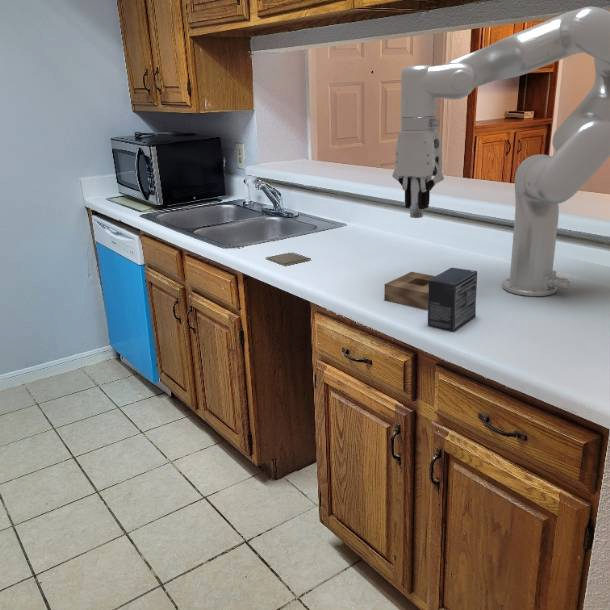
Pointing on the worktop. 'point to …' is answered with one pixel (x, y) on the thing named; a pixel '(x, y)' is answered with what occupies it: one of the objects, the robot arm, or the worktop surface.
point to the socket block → (409, 290)
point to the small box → (452, 299)
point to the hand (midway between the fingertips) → (416, 207)
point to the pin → (415, 198)
